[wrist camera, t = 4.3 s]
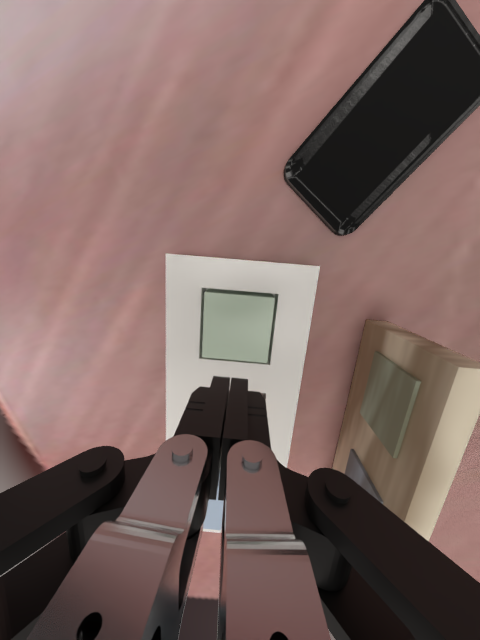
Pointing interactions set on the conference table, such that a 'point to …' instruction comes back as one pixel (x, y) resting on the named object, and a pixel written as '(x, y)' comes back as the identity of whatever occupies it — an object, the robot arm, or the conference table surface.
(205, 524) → the key slate
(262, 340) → the key sage
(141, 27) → the conference table surface
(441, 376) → the card
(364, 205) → the phone
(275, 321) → the keypad
